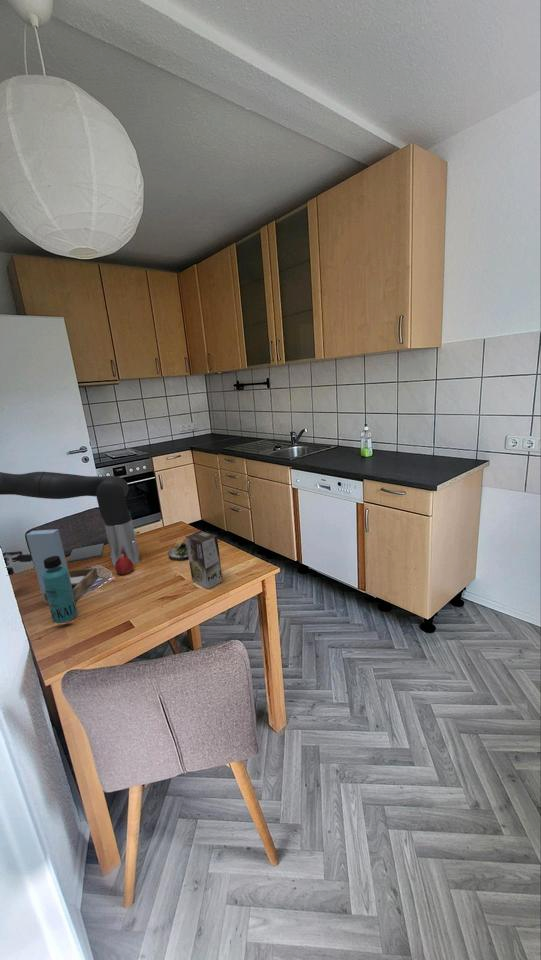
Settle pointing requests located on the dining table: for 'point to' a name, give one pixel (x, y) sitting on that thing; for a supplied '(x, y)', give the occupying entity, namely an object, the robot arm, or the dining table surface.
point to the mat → (86, 552)
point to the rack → (83, 584)
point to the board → (45, 552)
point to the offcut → (76, 579)
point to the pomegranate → (123, 565)
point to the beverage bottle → (59, 591)
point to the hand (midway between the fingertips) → (22, 564)
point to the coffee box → (204, 558)
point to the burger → (178, 551)
